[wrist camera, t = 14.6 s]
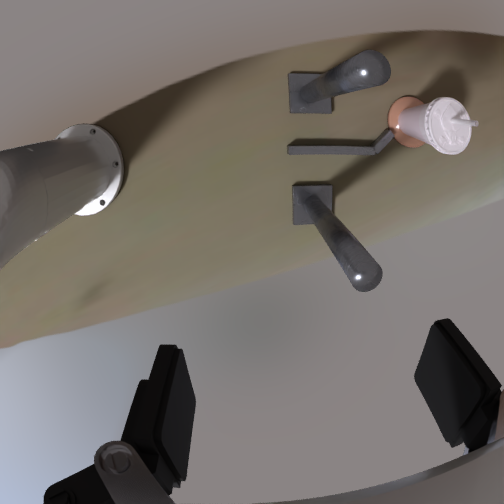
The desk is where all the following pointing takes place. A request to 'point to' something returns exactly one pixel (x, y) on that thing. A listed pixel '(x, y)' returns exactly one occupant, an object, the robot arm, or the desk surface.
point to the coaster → (393, 121)
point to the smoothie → (439, 124)
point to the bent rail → (344, 147)
